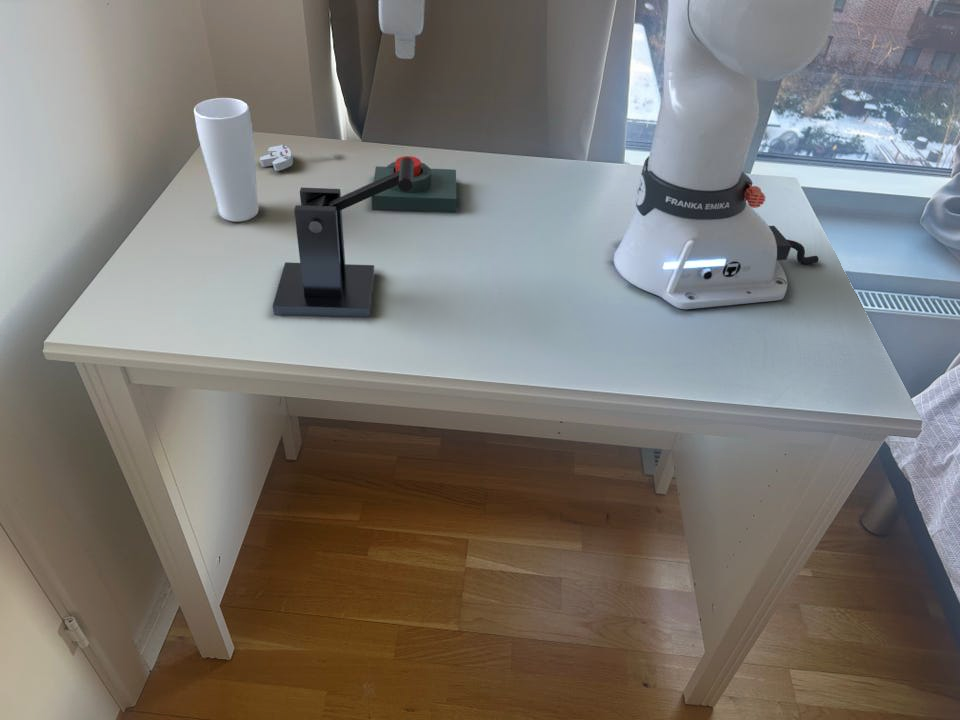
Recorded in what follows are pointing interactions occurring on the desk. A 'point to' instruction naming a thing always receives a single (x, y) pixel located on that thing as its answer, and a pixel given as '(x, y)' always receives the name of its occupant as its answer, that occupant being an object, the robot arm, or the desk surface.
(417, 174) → the power button
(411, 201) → the power block
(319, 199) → the black lever handle
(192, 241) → the desk surface
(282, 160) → the game controller
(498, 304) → the desk surface
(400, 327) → the desk surface
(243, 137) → the drinking glass
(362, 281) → the lever base
